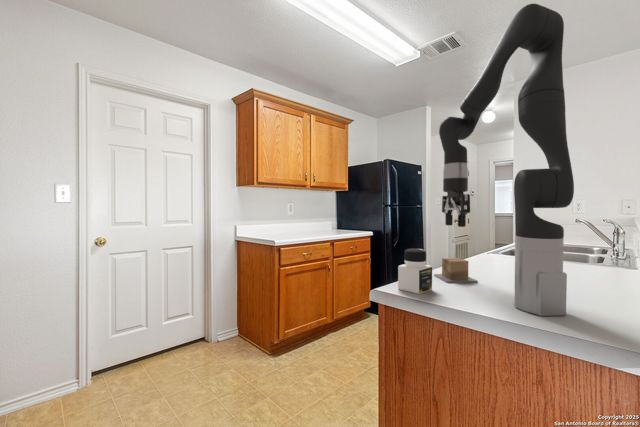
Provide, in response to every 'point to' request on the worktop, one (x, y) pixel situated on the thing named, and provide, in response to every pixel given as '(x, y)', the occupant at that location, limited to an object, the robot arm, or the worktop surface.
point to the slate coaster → (469, 280)
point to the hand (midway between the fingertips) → (454, 226)
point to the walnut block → (454, 268)
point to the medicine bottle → (415, 272)
